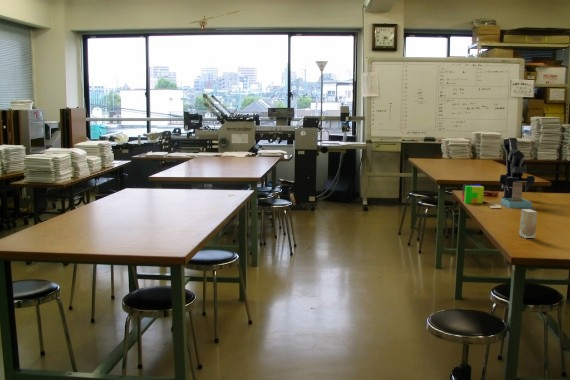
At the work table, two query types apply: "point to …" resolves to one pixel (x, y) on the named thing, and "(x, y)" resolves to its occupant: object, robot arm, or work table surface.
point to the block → (517, 192)
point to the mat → (515, 208)
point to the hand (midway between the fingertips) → (517, 191)
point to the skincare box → (528, 223)
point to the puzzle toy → (472, 194)
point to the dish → (516, 203)
